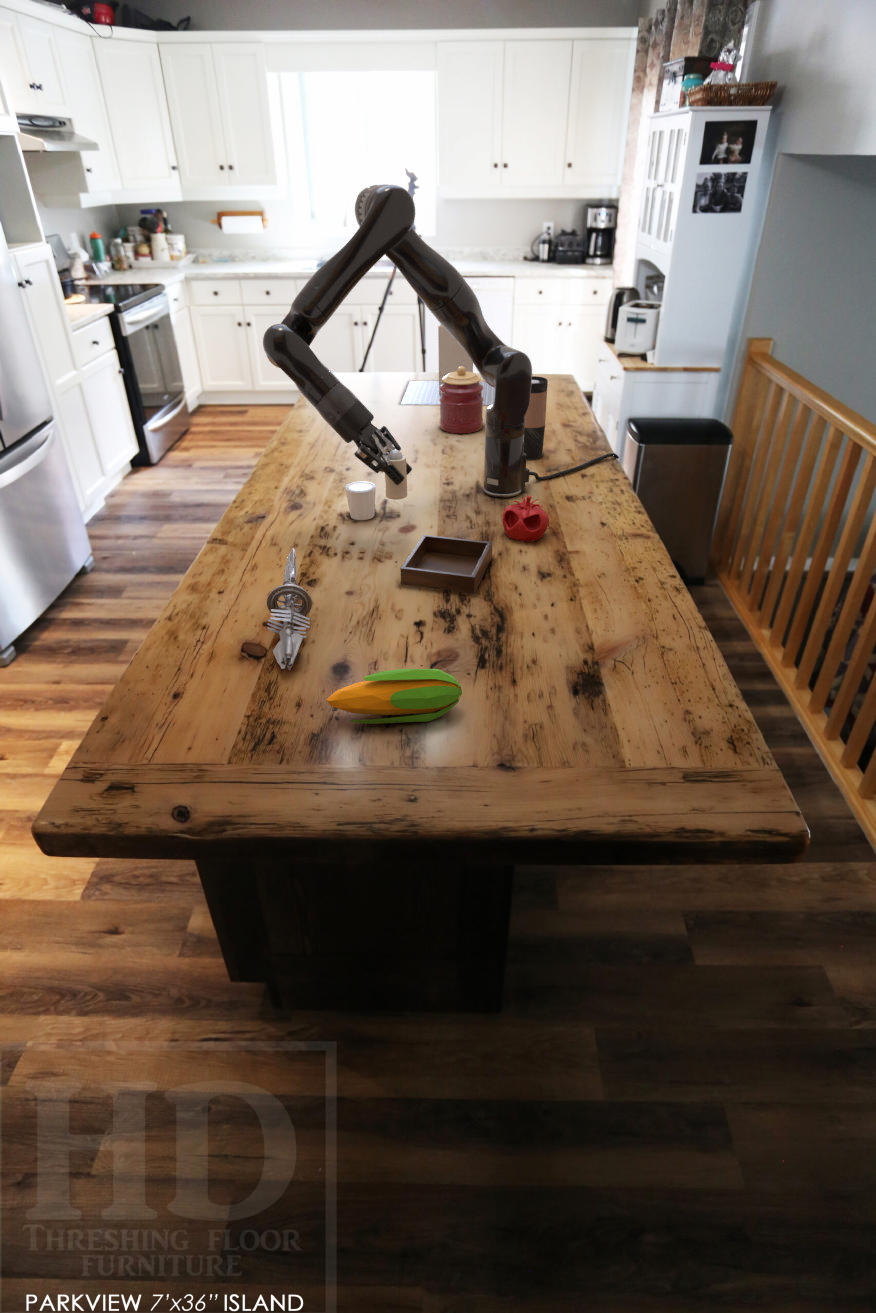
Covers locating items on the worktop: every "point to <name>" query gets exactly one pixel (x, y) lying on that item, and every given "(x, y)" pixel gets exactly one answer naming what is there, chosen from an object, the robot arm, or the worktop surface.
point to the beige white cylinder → (361, 500)
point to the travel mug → (535, 419)
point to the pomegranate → (525, 520)
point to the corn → (400, 695)
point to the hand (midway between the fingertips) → (404, 477)
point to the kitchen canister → (461, 402)
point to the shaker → (400, 463)
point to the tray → (447, 563)
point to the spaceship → (289, 614)
